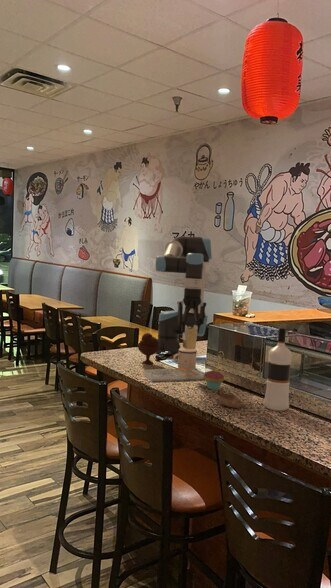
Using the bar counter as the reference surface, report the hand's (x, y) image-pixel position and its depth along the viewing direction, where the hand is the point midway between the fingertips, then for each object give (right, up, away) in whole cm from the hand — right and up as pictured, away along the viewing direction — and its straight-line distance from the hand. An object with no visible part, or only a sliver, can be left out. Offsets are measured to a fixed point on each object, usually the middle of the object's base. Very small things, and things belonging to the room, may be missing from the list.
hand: (189, 339), depth 209 cm
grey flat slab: (-7, -17, -1) cm, 18 cm away
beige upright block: (0, -4, 0) cm, 4 cm away
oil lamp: (+12, -21, -36) cm, 43 cm away
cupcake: (+9, -19, -15) cm, 26 cm away
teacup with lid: (-2, -16, +16) cm, 22 cm away
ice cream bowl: (-20, -14, +21) cm, 32 cm away
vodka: (+30, -22, -36) cm, 52 cm away
